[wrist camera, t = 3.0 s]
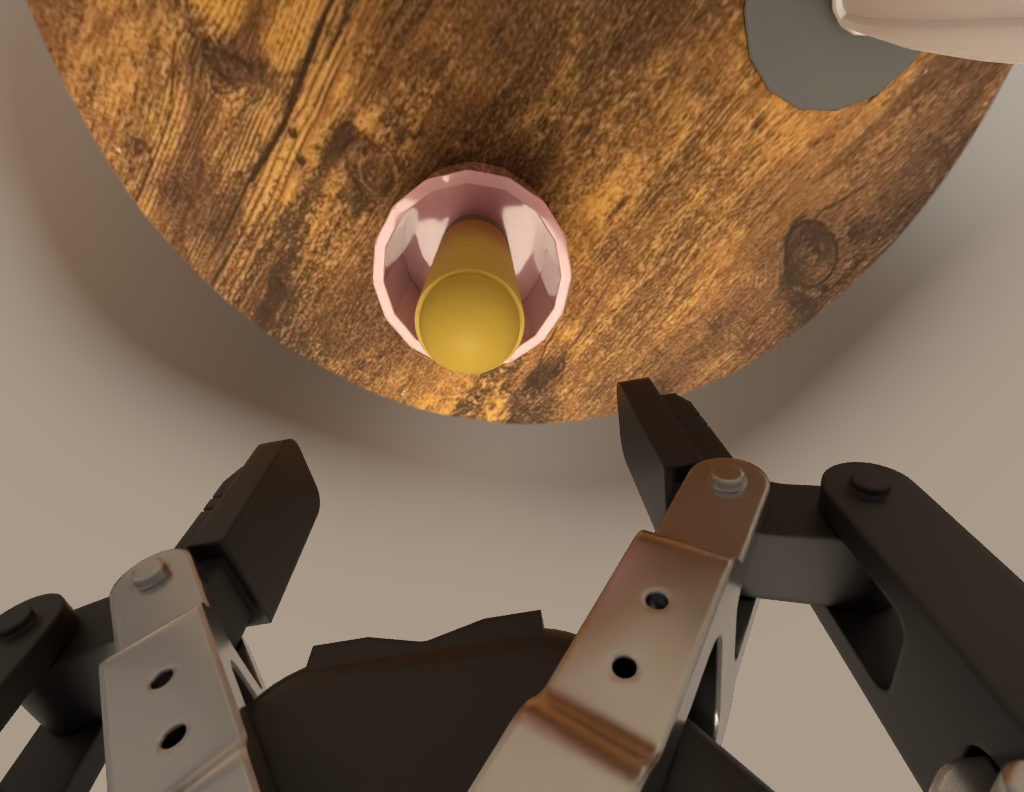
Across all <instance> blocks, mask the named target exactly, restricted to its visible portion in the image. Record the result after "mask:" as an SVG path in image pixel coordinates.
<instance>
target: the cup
mask: <svg viewBox="0 0 1024 792" xmlns="http://www.w3.org/2000/svg"><path fill="white" fill-rule="evenodd" d="M744 17H745V25H746V33H747V41H748V49H749V57H750V59H751V60H752V62H753V64H754V66H755V67H756V69H757V71H758V72H759V74H760V76H761V78H762V79H763V81H764V83H765V85H766V86H767V88H768V90H769V91H770V92H772V93H773V94H775V95H777V96H778V97H780V98H782V99H783V100H785V101H786V102H788V103H790V104H791V105H793V106H795V107H796V108H798V109H803V110H825V111H837V110H839V109H842V108H845V107H847V106H850V105H852V104H855V103H857V102H860V101H862V100H865V99H867V98H870V97H873V96H875V95H876V94H877V93H878V92H879V91H881V90H882V89H883V88H884V87H885V86H886V85H888V84H889V83H890V82H891V81H892V80H894V79H895V78H896V77H897V76H898V75H900V74H901V73H902V72H903V71H904V70H905V69H907V68H908V67H909V66H910V65H911V64H912V62H913V61H914V59H915V58H916V56H917V55H918V53H919V52H920V51H923V52H929V53H935V54H941V55H947V56H953V57H959V58H965V59H971V60H977V61H988V62H998V63H1009V64H1020V65H1024V0H746V2H745V7H744Z"/></svg>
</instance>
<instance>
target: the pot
mask: <svg viewBox="0 0 1024 792" xmlns="http://www.w3.org/2000/svg"><path fill="white" fill-rule="evenodd" d="M466 215H482V216H485V217H488V218H490V219H492V220H493V221H495V222H496V223H497V224H498V225H499V226H500V227H501V228H502V229H503V231H504V233H505V234H506V237H507V239H508V243H509V247H510V252H511V256H512V261H513V265H514V270H515V274H516V279H517V284H518V288H519V293H520V297H521V302H522V306H523V311H524V317H525V327H524V333H523V337H522V340H521V342H520V344H519V346H518V348H517V350H516V351H515V352H514V354H513V355H512V356H511V357H510V358H509V359H508V360H507V361H505V362H504V363H503V364H505V363H509V362H512V361H514V360H516V359H517V358H519V357H520V356H522V355H523V354H525V353H526V352H528V351H529V350H531V349H532V348H534V347H536V346H537V345H539V344H540V343H542V342H543V341H544V339H545V338H546V336H547V335H548V334H549V332H550V331H551V329H552V328H553V327H554V325H555V324H556V322H557V321H558V319H559V318H560V317H561V315H562V314H563V311H564V308H565V304H566V300H567V296H568V291H569V287H570V283H571V279H572V271H571V264H570V258H569V252H568V246H567V240H566V237H565V234H564V232H563V231H562V229H561V228H560V226H559V225H558V223H557V221H556V220H555V218H554V217H553V215H552V213H551V212H550V210H549V209H548V207H547V205H546V204H545V202H544V201H543V200H542V199H541V198H540V196H539V195H538V194H537V193H536V192H535V190H534V189H533V188H532V187H531V186H530V185H528V184H527V183H525V182H524V181H522V180H521V179H520V178H518V177H517V176H515V175H514V174H512V173H511V172H509V171H508V170H507V169H505V168H502V167H497V166H493V165H489V164H483V163H477V162H465V163H461V164H456V165H452V166H449V167H445V168H441V169H438V170H436V171H435V172H433V173H432V174H431V175H430V176H428V177H427V178H426V179H424V180H423V181H422V182H421V183H419V184H418V185H417V186H416V187H414V188H413V189H412V190H411V191H410V192H408V193H407V194H406V195H405V196H404V197H402V198H401V199H400V200H399V201H398V202H397V203H395V204H394V206H393V207H392V208H391V210H390V212H389V214H388V216H387V218H386V220H385V222H384V224H383V226H382V228H381V230H380V232H379V234H378V236H377V238H376V240H375V244H374V261H373V279H372V280H373V285H374V288H375V290H376V293H377V296H378V299H379V302H380V305H381V308H382V310H383V313H384V316H385V317H386V319H387V321H388V322H389V323H390V324H391V325H392V326H393V328H394V329H395V330H396V331H397V332H398V333H399V335H400V336H401V337H402V338H403V339H404V340H405V341H406V343H407V344H408V345H409V346H410V347H412V348H413V349H415V350H417V351H419V352H421V353H423V354H424V355H426V356H428V357H430V356H429V355H428V354H427V353H426V352H425V350H424V349H423V348H422V346H421V344H420V342H419V340H418V337H417V335H416V331H415V324H414V315H415V309H416V306H417V302H418V300H419V297H420V294H421V292H422V289H423V286H424V284H425V281H426V279H427V276H428V273H429V271H430V268H431V265H432V263H433V260H434V257H435V255H436V252H437V250H438V247H439V244H440V242H441V239H442V236H443V234H444V232H445V230H446V229H447V227H448V226H449V225H450V224H451V223H452V222H453V221H455V220H456V219H458V218H460V217H463V216H466ZM430 358H431V357H430Z"/></svg>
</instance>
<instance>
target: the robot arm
mask: <svg viewBox="0 0 1024 792" xmlns="http://www.w3.org/2000/svg"><path fill="white" fill-rule="evenodd" d="M617 402H618V413H619V425H620V436H621V444H622V449H623V453H624V457H625V460H626V463H627V465H628V467H629V470H630V472H631V475H632V477H633V479H634V482H635V484H636V486H637V489H638V491H639V493H640V496H641V498H642V500H643V503H644V505H645V508H646V510H647V512H648V515H649V517H650V519H651V522H652V524H653V526H654V529H655V533H652V532H649V531H646V530H641V531H640V532H638V534H637V535H636V536H635V538H634V539H633V541H632V542H631V544H630V546H629V547H628V549H627V551H626V552H625V554H624V556H623V557H622V559H621V561H620V563H619V564H618V566H617V567H616V569H615V571H614V572H613V574H612V576H611V577H610V579H609V581H608V582H607V584H606V586H605V588H604V589H603V591H602V593H601V594H600V596H599V598H598V599H597V601H596V603H595V604H594V606H593V608H592V609H591V611H590V613H589V614H588V616H587V618H586V620H585V621H584V623H583V624H582V626H581V628H580V629H579V631H578V633H577V634H573V633H570V632H566V631H560V630H556V629H546V628H544V624H543V619H542V614H541V610H537V611H530V612H524V613H517V614H511V615H506V616H498V617H492V618H486V619H482V620H480V621H477V622H474V623H472V624H470V625H467V626H464V627H462V628H459V629H457V630H454V631H451V632H449V633H446V634H444V635H441V636H439V637H436V638H433V639H431V640H428V641H423V642H417V641H406V640H394V639H382V638H372V637H366V638H360V639H354V640H348V641H341V642H335V643H329V644H322V645H316V646H313V648H312V651H311V654H310V657H309V660H308V663H307V666H306V667H305V668H303V669H301V670H298V671H297V672H295V673H292V674H291V675H289V676H287V677H285V678H283V679H282V680H280V681H279V682H277V683H275V684H273V685H272V686H271V687H269V688H268V689H266V687H265V684H264V682H263V680H262V677H261V675H260V673H259V670H258V668H257V665H256V663H255V661H254V658H253V656H252V654H251V651H250V649H249V646H248V645H247V643H246V641H245V640H244V638H243V637H242V635H243V633H244V631H245V628H246V627H248V626H254V625H260V624H267V623H271V622H272V619H273V617H274V615H275V612H276V610H277V608H278V606H279V603H280V601H281V598H282V596H283V594H284V592H285V589H286V587H287V585H288V582H289V580H290V578H291V575H292V573H293V571H294V568H295V566H296V564H297V561H298V559H299V557H300V555H301V552H302V550H303V547H304V545H305V543H306V541H307V538H308V536H309V534H310V531H311V529H312V527H313V524H314V522H315V520H316V517H317V515H318V512H319V507H320V498H319V492H318V489H317V486H316V484H315V482H314V479H313V477H312V475H311V473H310V470H309V468H308V466H307V463H306V461H305V459H304V457H303V454H302V452H301V450H300V448H299V446H298V444H297V443H296V442H295V441H294V440H293V439H287V440H282V441H275V442H270V443H265V444H260V445H258V447H257V448H256V449H255V451H254V452H253V453H252V455H251V456H250V458H249V459H248V460H247V462H246V463H245V465H244V466H243V467H241V468H240V469H239V470H237V471H236V472H235V473H234V474H232V475H231V476H230V477H229V478H228V479H226V480H225V481H224V482H223V483H222V485H221V486H220V487H219V489H218V490H217V491H216V493H215V494H214V496H213V499H210V501H209V502H208V504H207V505H206V506H205V508H204V512H201V513H200V515H199V516H198V517H197V518H196V520H195V521H194V523H193V524H192V525H191V527H190V528H189V529H188V531H187V532H186V533H185V535H184V536H183V538H182V539H181V540H180V542H179V543H178V544H177V546H176V547H175V548H174V549H170V550H166V551H162V552H160V553H157V554H155V555H152V556H150V557H148V558H146V559H144V560H142V561H141V562H139V563H138V564H136V565H135V566H133V567H132V568H131V569H129V570H128V571H127V572H126V573H125V574H123V575H122V576H121V577H120V578H119V579H118V581H117V582H116V583H115V584H114V586H113V588H112V590H111V592H110V596H109V597H107V598H104V599H102V600H99V601H96V602H93V603H91V604H89V605H86V606H83V607H80V608H78V609H75V610H73V609H72V607H71V606H70V605H69V604H68V603H67V602H66V600H65V599H64V598H63V597H62V596H61V595H59V594H45V595H41V596H37V597H34V598H31V599H29V600H27V601H24V602H22V603H20V604H18V605H16V606H14V607H13V608H11V609H9V610H8V611H6V612H4V613H3V614H1V615H0V732H1V730H2V729H3V728H4V726H5V725H6V724H7V722H8V721H9V720H10V718H11V717H12V716H13V714H14V713H15V712H16V710H17V709H18V708H19V706H20V705H22V706H23V707H24V708H25V709H26V710H27V711H28V712H29V713H30V714H31V715H32V716H33V717H34V718H35V719H36V720H37V721H38V722H39V723H40V724H41V725H40V726H39V728H38V729H37V731H36V732H35V733H34V735H33V736H32V738H31V739H30V741H29V742H28V744H27V745H26V747H25V748H24V749H23V751H22V752H21V754H20V755H19V757H18V758H17V760H16V761H15V763H14V764H13V765H12V767H11V768H10V770H9V771H8V772H7V774H6V775H5V777H4V778H3V780H2V781H1V783H0V792H89V791H90V789H91V787H92V786H93V784H94V782H95V780H96V778H97V777H98V775H99V773H100V771H101V769H102V767H103V766H104V764H105V763H106V777H107V789H108V792H774V791H773V790H772V789H771V788H770V787H768V786H767V785H766V784H765V783H764V782H763V781H761V780H760V779H759V778H758V777H757V776H756V775H754V774H753V773H752V772H751V771H750V770H748V769H747V768H746V767H745V766H744V765H743V764H741V763H740V762H739V761H738V760H737V759H735V758H734V757H733V756H732V755H731V754H729V753H728V752H727V751H726V750H725V749H724V748H723V747H721V743H722V740H723V737H724V733H725V730H726V725H727V722H728V718H729V713H730V709H731V703H732V698H733V691H734V686H735V681H736V677H737V673H738V670H739V667H740V663H741V660H742V657H743V654H744V650H745V647H746V644H747V640H748V637H749V634H750V631H751V627H752V624H753V621H754V618H755V614H756V611H757V608H758V604H759V601H760V598H762V599H771V600H779V601H787V602H797V603H805V604H810V605H811V607H812V608H813V610H814V611H815V613H816V615H817V616H818V618H819V620H820V622H821V623H822V625H823V626H824V628H825V630H826V631H827V633H828V635H829V636H830V638H831V640H832V641H833V643H834V645H835V646H836V648H837V650H838V651H839V653H840V654H841V656H842V658H843V660H844V661H845V663H846V664H847V666H848V668H849V670H850V671H851V673H852V675H853V676H854V678H855V679H856V681H857V683H858V684H859V686H860V688H861V689H862V691H863V693H864V694H865V696H866V698H867V699H868V701H869V702H870V704H871V706H872V707H873V709H874V711H875V713H876V714H877V716H878V718H879V719H880V721H881V722H882V724H883V726H884V727H885V729H886V731H887V732H888V734H889V736H890V737H891V739H892V740H893V742H894V744H895V746H896V747H897V749H898V750H899V752H900V754H901V755H902V757H903V759H904V761H905V762H906V764H907V765H908V767H909V769H910V771H911V772H912V774H913V775H914V777H915V779H916V780H917V782H918V784H919V785H920V787H921V789H922V790H923V792H1024V582H1023V581H1022V580H1021V579H1019V577H1018V576H1016V575H1015V574H1014V573H1013V572H1012V571H1011V570H1010V569H1009V568H1008V567H1007V566H1005V565H1004V564H1003V563H1002V562H1001V561H1000V560H999V559H998V558H997V557H996V556H994V555H993V554H992V553H991V552H990V551H989V550H988V549H987V548H986V547H984V546H983V545H982V544H981V543H980V542H979V541H978V540H977V539H976V538H975V537H974V536H973V535H971V534H970V533H969V532H968V531H967V530H966V529H965V528H964V527H963V526H961V525H960V524H959V523H958V522H957V521H956V520H955V519H954V518H953V517H952V516H951V515H949V514H948V513H947V512H946V511H945V510H944V509H943V508H942V507H941V506H940V505H938V504H937V503H936V502H935V501H934V500H933V499H932V498H931V497H930V496H929V495H928V494H926V493H925V492H924V491H923V490H922V489H921V488H920V487H919V486H918V485H917V484H915V483H914V482H913V481H912V480H910V479H909V478H908V477H907V476H905V475H903V474H902V473H900V472H897V471H895V470H893V469H890V468H888V467H884V466H881V465H877V464H871V463H863V462H849V463H842V464H838V465H835V466H833V467H831V468H829V469H828V470H826V471H825V472H824V474H823V476H822V480H821V486H811V485H790V484H779V483H774V482H770V481H769V479H768V477H767V475H766V474H765V473H764V472H763V471H762V470H761V469H760V468H758V467H757V466H755V465H753V464H751V463H749V462H746V461H743V460H739V459H734V458H733V457H732V456H731V455H730V453H729V452H728V451H727V450H726V448H725V447H724V445H723V444H722V443H721V442H720V441H719V439H718V438H717V436H716V435H715V434H714V432H713V431H712V430H711V428H710V427H708V426H707V423H706V422H705V420H704V419H703V418H702V417H700V414H699V412H698V411H697V410H696V409H695V407H694V406H693V404H692V403H691V402H690V401H687V400H686V399H684V398H682V397H680V396H678V395H677V394H675V393H672V394H666V395H660V394H659V392H658V391H657V389H656V388H655V386H654V385H653V383H652V382H651V380H650V379H649V378H648V377H646V378H641V379H635V380H629V381H623V382H618V383H617Z"/></svg>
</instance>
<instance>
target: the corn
mask: <svg viewBox="0 0 1024 792" xmlns="http://www.w3.org/2000/svg"><path fill="white" fill-rule="evenodd" d="M414 324H415V331H416V335H417V337H418V340H419V342H420V344H421V346H422V348H423V349H424V350H425V352H426V353H427V354H428V355H429V356H430V357H431V358H432V359H433V360H434V361H435V362H437V363H438V364H440V365H441V366H443V367H445V368H447V369H449V370H451V371H454V372H457V373H461V374H479V373H483V372H487V371H489V370H492V369H494V368H496V367H498V366H500V365H501V364H503V363H504V362H505V361H507V360H508V359H509V358H510V357H511V356H512V355H513V354H514V352H515V351H516V350H517V348H518V346H519V344H520V342H521V340H522V337H523V333H524V327H525V317H524V311H523V306H522V302H521V297H520V293H519V288H518V284H517V279H516V274H515V270H514V265H513V261H512V256H511V252H510V247H509V243H508V239H507V237H506V234H505V233H504V231H503V229H502V228H501V227H500V226H499V225H498V224H497V223H496V222H495V221H493V220H492V219H490V218H488V217H485V216H482V215H466V216H463V217H460V218H458V219H456V220H455V221H453V222H452V223H451V224H450V225H449V226H448V227H447V229H446V230H445V232H444V234H443V236H442V239H441V242H440V244H439V247H438V250H437V252H436V255H435V257H434V260H433V263H432V265H431V268H430V271H429V273H428V276H427V279H426V281H425V284H424V286H423V289H422V292H421V294H420V297H419V300H418V302H417V306H416V309H415V315H414Z"/></svg>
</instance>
